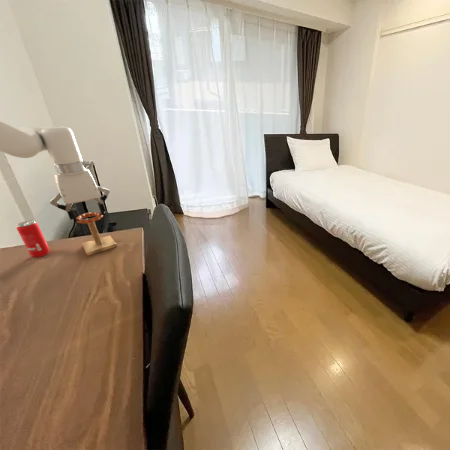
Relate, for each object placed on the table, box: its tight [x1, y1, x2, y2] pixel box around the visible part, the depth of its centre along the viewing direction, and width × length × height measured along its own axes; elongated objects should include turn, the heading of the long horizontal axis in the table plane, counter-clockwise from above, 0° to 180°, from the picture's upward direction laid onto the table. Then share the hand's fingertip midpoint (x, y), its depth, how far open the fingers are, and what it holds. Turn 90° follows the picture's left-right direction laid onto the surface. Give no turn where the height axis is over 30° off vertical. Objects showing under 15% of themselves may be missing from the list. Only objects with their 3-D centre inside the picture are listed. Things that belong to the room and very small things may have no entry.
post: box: [81, 221, 118, 256], centre depth 98 cm, size 9×9×10 cm
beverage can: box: [16, 220, 50, 258], centre depth 93 cm, size 5×5×12 cm
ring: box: [75, 211, 104, 225], centre depth 95 cm, size 8×8×1 cm
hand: (89, 216), depth 95 cm, fingers closed on ring, 7 cm apart
